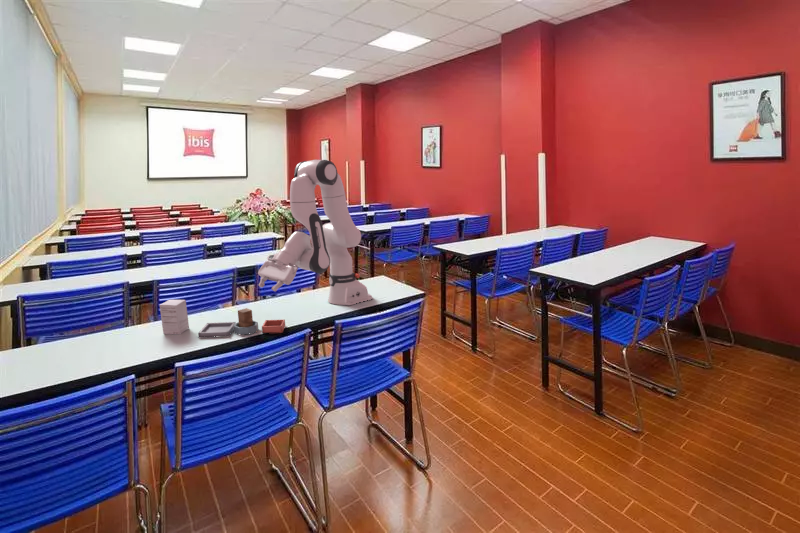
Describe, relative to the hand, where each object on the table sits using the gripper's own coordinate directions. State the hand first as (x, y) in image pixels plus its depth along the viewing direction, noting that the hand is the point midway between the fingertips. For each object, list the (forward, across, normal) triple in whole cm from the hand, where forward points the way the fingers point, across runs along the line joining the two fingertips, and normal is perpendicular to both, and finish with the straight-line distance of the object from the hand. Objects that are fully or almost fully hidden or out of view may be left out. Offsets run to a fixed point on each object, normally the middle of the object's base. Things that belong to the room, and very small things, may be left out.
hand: (266, 288), depth 193 cm
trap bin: (+13, -8, -9) cm, 18 cm away
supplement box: (+32, +23, +9) cm, 41 cm away
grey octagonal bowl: (+19, 0, -4) cm, 19 cm away
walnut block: (+19, 0, -4) cm, 19 cm away
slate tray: (+25, +8, +2) cm, 26 cm away
